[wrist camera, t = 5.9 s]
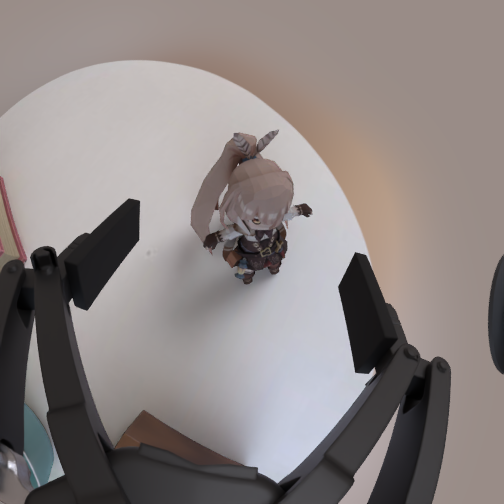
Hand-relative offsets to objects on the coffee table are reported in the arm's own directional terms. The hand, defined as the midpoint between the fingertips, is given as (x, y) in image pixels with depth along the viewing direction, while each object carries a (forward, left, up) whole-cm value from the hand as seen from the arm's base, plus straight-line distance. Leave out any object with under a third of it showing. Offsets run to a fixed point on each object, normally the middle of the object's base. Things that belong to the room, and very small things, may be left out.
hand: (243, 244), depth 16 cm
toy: (+1, -3, -10) cm, 11 cm away
